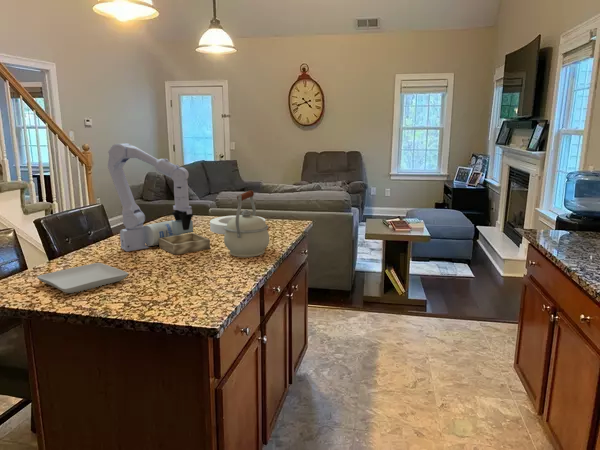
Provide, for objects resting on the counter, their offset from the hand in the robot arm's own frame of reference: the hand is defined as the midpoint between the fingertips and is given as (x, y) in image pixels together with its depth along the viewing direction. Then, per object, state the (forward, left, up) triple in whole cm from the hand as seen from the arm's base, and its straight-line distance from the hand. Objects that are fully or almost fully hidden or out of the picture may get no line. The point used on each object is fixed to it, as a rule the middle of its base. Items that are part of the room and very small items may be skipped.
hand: (183, 228), depth 188 cm
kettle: (+18, -23, -9) cm, 30 cm away
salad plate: (-45, -21, -9) cm, 50 cm away
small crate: (0, 0, -2) cm, 2 cm away
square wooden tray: (0, 0, -8) cm, 8 cm away
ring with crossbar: (+38, +19, -9) cm, 44 cm away
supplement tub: (+3, +16, -4) cm, 16 cm away
